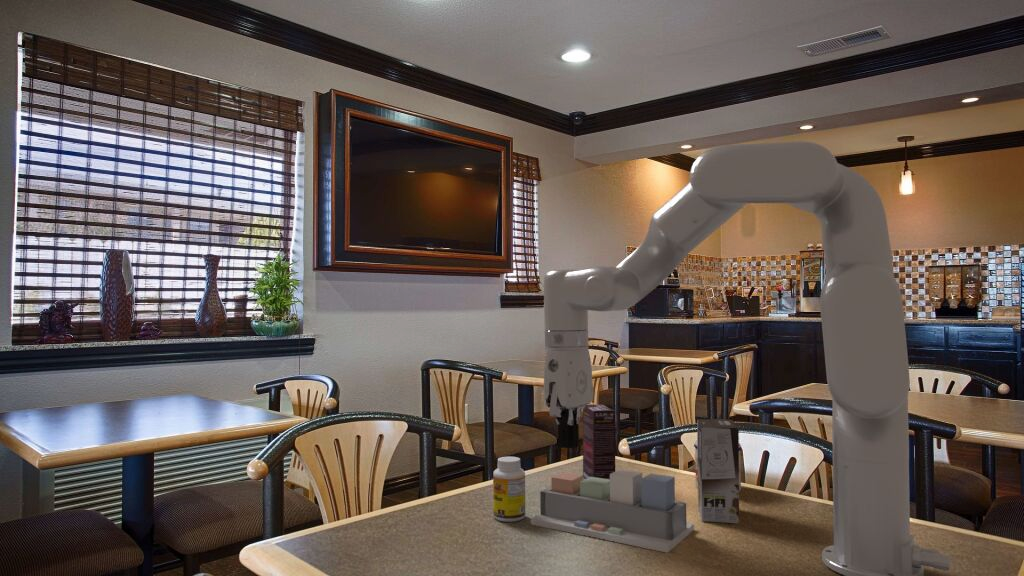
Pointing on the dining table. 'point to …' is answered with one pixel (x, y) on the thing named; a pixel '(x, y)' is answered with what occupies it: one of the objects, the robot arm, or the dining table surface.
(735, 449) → the coffee box
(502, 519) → the supplement bottle
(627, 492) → the key
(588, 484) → the key
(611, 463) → the supplement box
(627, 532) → the grey block holder
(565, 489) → the pink block
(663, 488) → the blue-grey block
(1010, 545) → the dining table surface
